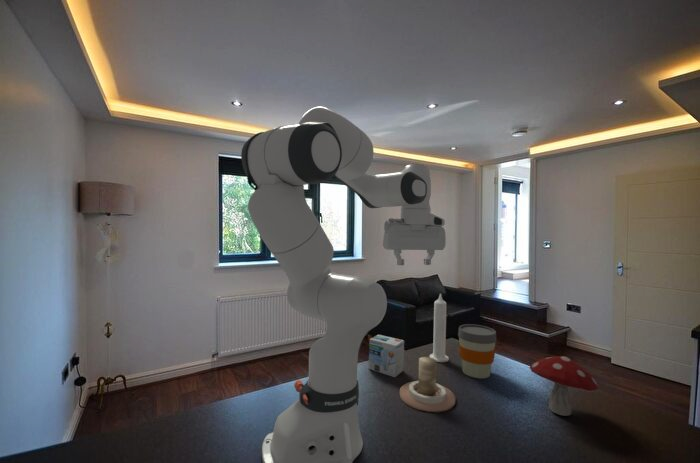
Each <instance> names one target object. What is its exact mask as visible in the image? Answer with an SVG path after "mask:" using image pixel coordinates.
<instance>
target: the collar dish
mask: <svg viewBox="0 0 700 463" xmlns="http://www.w3.org/2000/svg"><path fill="white" fill-rule="evenodd" d="M399 388H400V389H399V396H400V400H401V401H402V402H403V403H405V404H406V405H407V406H409V407H410V408H413V409H415V410H418V411H423V412H427V413H442V412H446V411H449V410H451V409H452V408H454V406H455V405H456V396H455V394H454V393H453V392H452V391H451V390H450V389H449V388H447V387H446V386H444V385H442V384H439V383H436V396H424V395H422V394H419V393H418V380H416V381H415V380H413V381H409V382H407V383H405V384H403V385H402V386H401V387H399Z"/></svg>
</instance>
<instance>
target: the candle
mask: <svg viewBox="0 0 700 463" xmlns="http://www.w3.org/2000/svg"><path fill="white" fill-rule="evenodd" d="M438 295H439V296H438V298H437V299H436V300H435V301H434V303H433V306H434V307H433V345H432V348H433V350H432V353H430V354H429V357H430V358H433V359H435V360H436V363H447V362H449V360H450V359H449V356H447V355H446V343H447V342H446V339H447V338H446V336H447V334H446V333H447V302H446V301H445V300H444V299H443V295H442V293H439V294H438Z"/></svg>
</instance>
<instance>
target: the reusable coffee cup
mask: <svg viewBox="0 0 700 463" xmlns="http://www.w3.org/2000/svg"><path fill="white" fill-rule="evenodd" d="M457 337H458V340H459V342H458V351H459V357H460V360H461V370H462V372H463V373H464V374H465V375H466V376H469V377H471V378H476V379H487V378H489V377H490V375H491V370H492V365H493V363H494V360H495V355H496V354H495V353H496V342H497V340H498V339H497V331H496V330H495V329H494V328H491V327H489V326H485V325H482V324H481V325H480V324H471V323H470V324H469V323H466V324H462V325H459V327H458V333H457Z"/></svg>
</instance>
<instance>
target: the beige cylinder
mask: <svg viewBox="0 0 700 463" xmlns="http://www.w3.org/2000/svg"><path fill="white" fill-rule="evenodd" d="M417 381H418V393H419V394H422V395H424V396H436V382H437V362H436V360H435V359H433V358H430V356H421V357H419V358H418V380H417Z"/></svg>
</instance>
